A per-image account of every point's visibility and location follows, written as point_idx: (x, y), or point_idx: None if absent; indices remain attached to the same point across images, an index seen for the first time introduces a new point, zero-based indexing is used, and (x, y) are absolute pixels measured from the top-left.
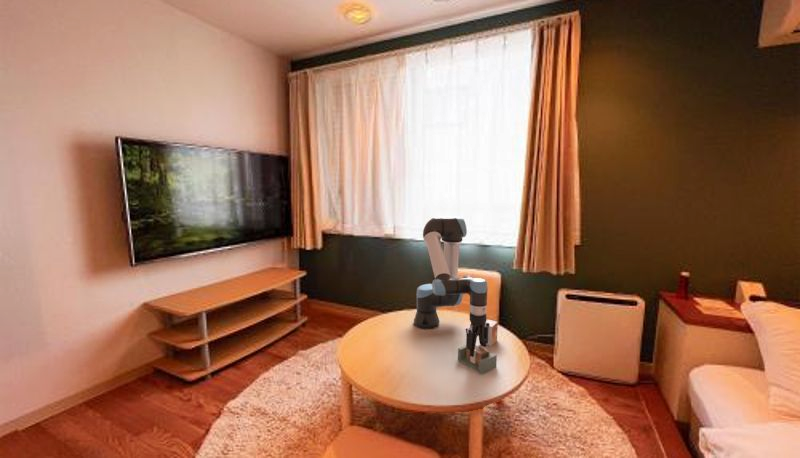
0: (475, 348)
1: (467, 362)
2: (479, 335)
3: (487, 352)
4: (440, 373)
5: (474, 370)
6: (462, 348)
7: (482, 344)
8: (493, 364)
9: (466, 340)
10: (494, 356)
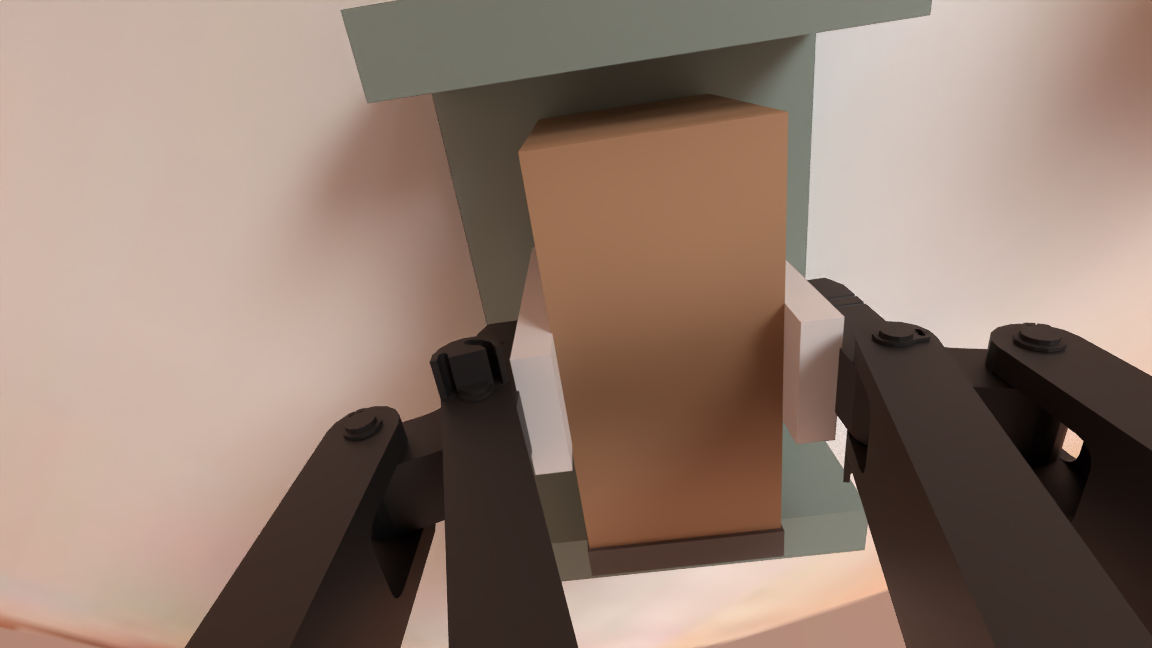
0: (657, 343)
1: (496, 217)
2: (949, 628)
3: (738, 554)
4: (13, 218)
5: None
6: (449, 76)
7: (853, 430)
8: None
9: (202, 627)
10: (806, 549)
